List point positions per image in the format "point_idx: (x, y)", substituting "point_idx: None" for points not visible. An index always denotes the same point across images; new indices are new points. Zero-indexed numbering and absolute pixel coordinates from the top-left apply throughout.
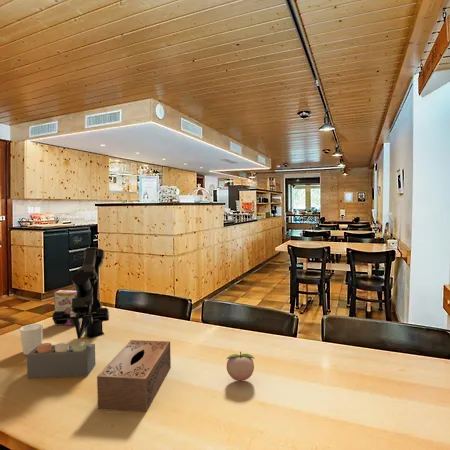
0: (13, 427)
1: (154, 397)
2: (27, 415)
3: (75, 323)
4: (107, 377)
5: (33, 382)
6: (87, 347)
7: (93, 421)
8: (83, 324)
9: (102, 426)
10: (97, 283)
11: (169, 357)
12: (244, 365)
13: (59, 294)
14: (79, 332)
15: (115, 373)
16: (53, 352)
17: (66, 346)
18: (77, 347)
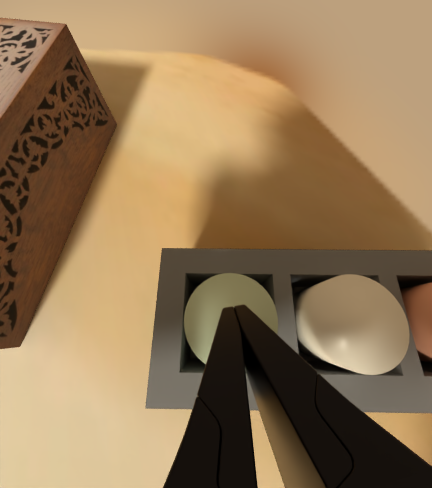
0: (270, 87)
1: None
2: (265, 114)
3: (400, 473)
4: (32, 23)
5: (352, 247)
6: (193, 370)
7: (119, 93)
8: (203, 460)
9: (100, 82)
10: None
11: None
12: None
13: None
14: (240, 335)
15: (2, 33)
16: (366, 273)
17: (313, 299)
18: (227, 273)
